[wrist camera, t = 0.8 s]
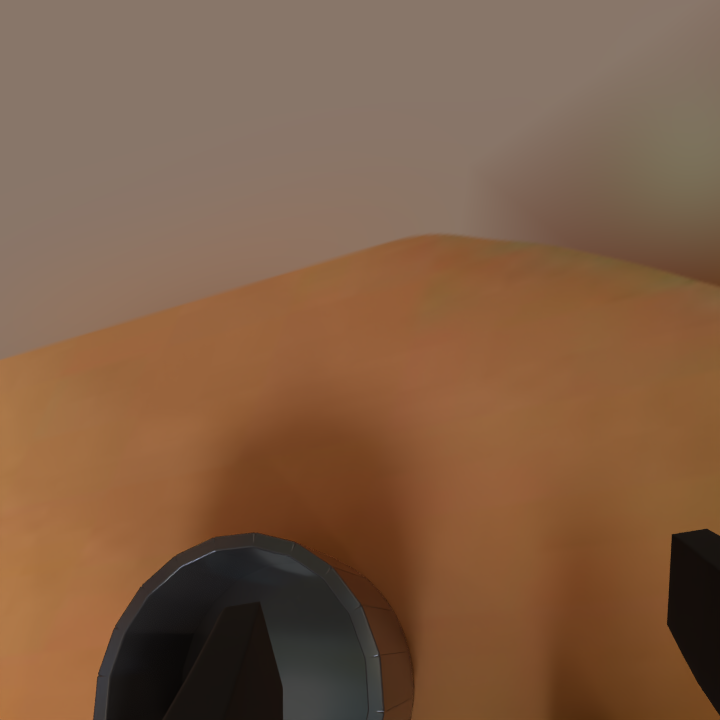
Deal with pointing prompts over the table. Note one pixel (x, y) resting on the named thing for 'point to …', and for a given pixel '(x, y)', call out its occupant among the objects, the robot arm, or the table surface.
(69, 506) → the table surface
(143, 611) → the brown round cylinder
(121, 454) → the table surface
